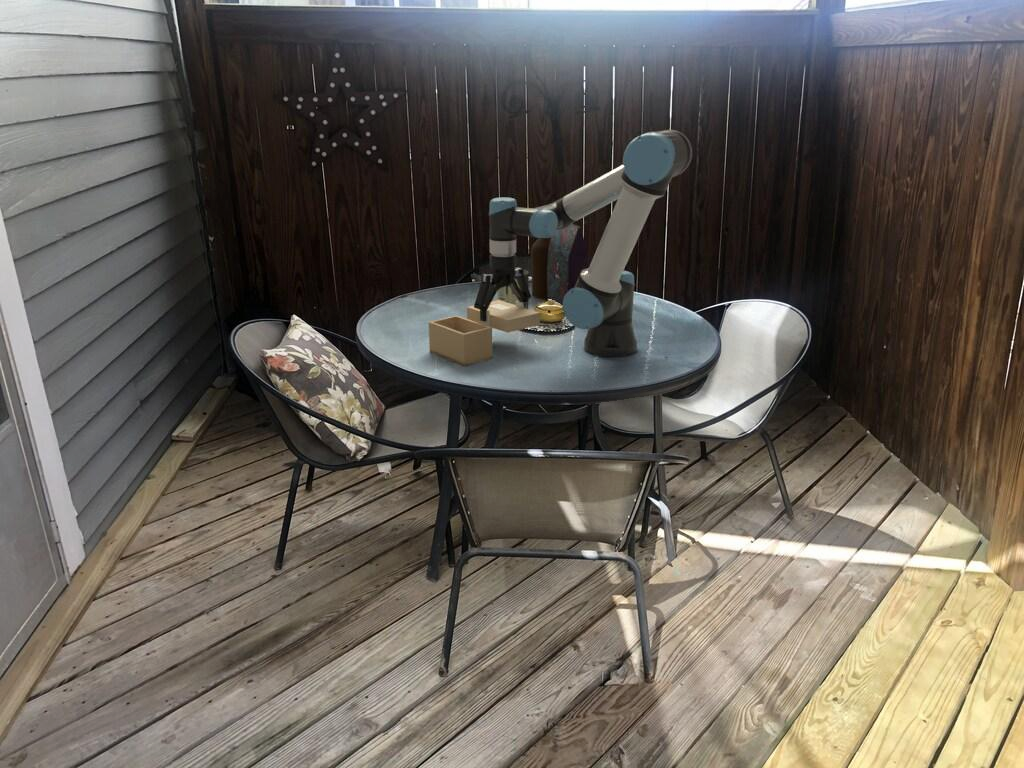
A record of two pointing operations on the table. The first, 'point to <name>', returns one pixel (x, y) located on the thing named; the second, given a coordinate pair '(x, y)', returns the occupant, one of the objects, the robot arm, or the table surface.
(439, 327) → the kraft box
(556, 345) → the table surface
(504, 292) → the coffee can
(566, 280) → the decorative box
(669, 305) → the table surface
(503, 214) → the robot arm
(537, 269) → the olive oil
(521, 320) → the lid
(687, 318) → the table surface
